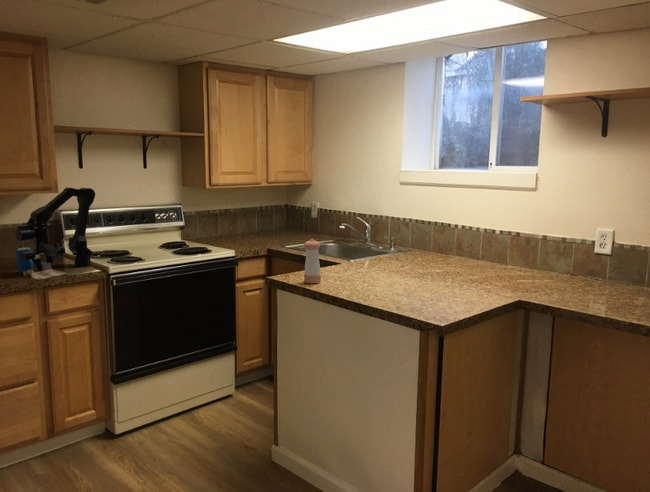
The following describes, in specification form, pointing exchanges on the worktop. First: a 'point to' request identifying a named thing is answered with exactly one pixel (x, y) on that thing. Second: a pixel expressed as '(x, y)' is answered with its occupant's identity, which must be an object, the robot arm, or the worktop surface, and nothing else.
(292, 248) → the worktop surface
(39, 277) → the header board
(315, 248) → the pepper shaker
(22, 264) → the beverage can
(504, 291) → the worktop surface
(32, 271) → the brass knob strip
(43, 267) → the block
